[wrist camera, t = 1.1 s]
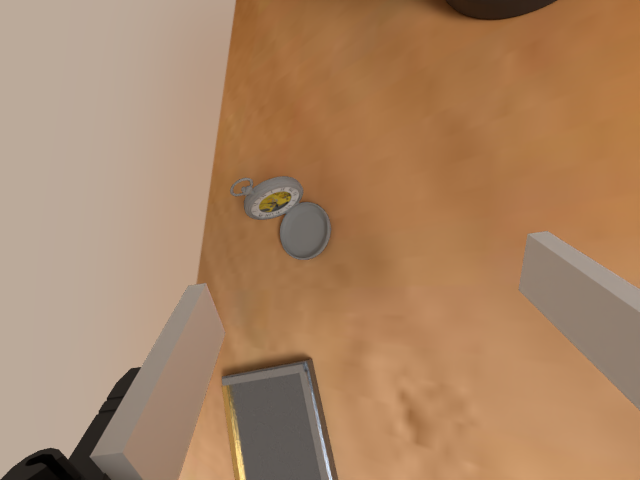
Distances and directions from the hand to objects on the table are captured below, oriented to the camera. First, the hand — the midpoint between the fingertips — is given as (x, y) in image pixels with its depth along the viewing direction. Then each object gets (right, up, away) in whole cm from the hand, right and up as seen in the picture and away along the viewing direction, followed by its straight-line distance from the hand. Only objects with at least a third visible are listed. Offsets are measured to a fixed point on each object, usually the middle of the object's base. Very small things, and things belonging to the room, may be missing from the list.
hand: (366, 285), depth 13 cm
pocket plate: (-7, -19, +23) cm, 30 cm away
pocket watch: (-4, +4, +24) cm, 25 cm away
